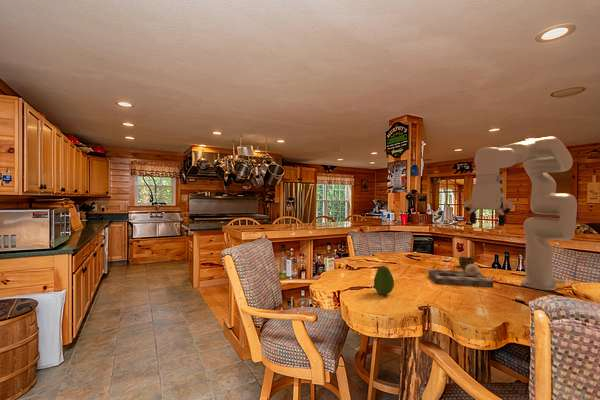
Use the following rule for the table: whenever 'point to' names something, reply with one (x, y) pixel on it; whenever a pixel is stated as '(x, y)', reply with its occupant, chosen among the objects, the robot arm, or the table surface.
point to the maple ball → (472, 270)
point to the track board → (458, 278)
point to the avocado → (383, 281)
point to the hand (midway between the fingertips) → (486, 224)
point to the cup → (465, 262)
